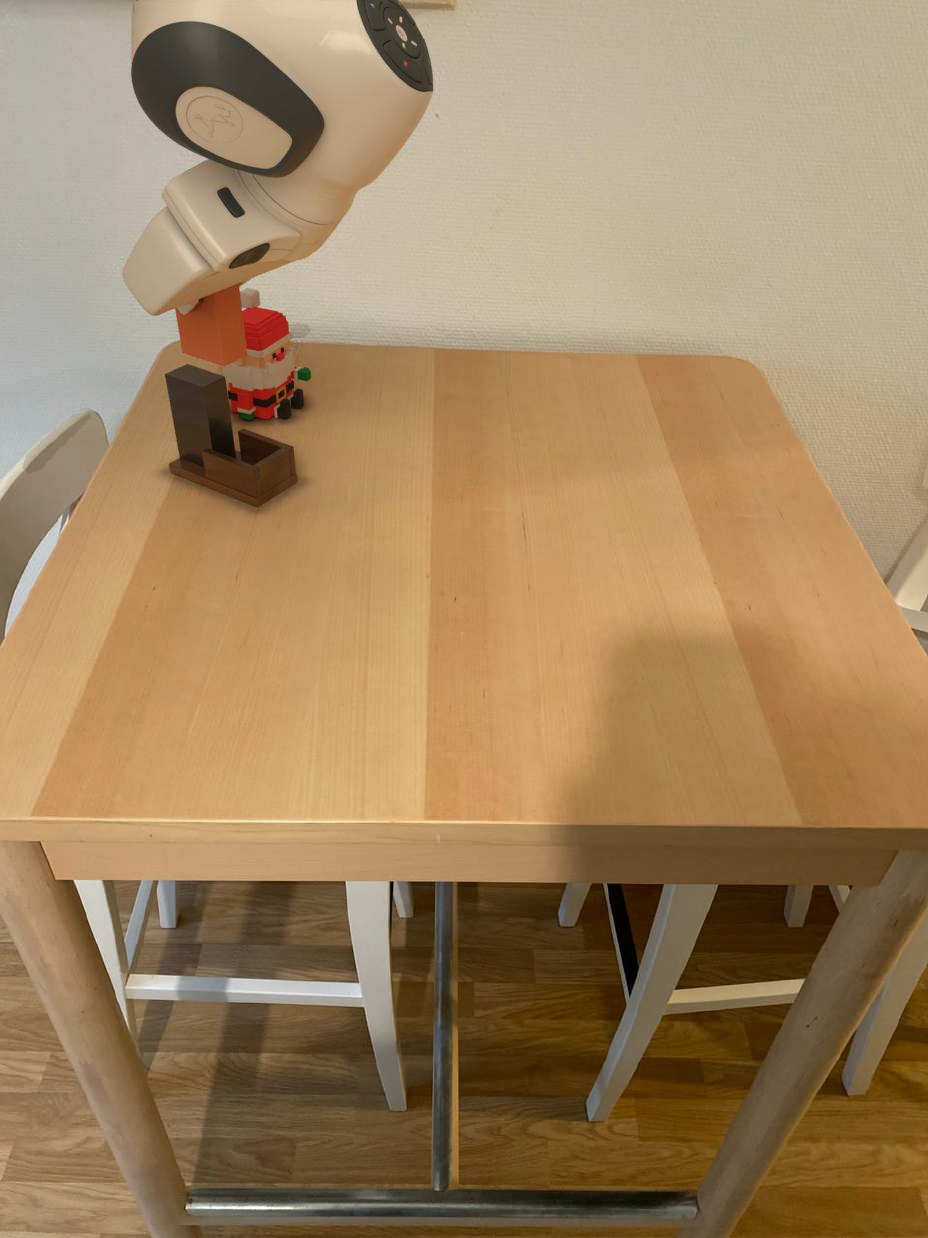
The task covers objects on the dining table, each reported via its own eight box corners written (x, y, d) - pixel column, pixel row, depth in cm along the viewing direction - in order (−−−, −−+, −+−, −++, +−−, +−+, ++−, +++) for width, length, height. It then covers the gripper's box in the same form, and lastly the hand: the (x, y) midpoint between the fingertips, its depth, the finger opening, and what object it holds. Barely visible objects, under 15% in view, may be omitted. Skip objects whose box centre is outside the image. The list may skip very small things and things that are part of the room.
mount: (257, 507, 87) (245, 412, 81) (169, 472, 92) (152, 379, 85) (297, 481, 91) (289, 388, 85) (212, 448, 96) (198, 358, 89)
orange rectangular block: (224, 366, 78) (209, 260, 72) (182, 353, 80) (164, 247, 74) (248, 355, 80) (235, 250, 74) (206, 342, 82) (190, 239, 76)
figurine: (275, 428, 100) (265, 321, 92) (221, 414, 102) (206, 308, 94) (314, 397, 106) (307, 295, 98) (262, 386, 108) (251, 284, 100)
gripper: (339, 134, 74) (261, 236, 84) (149, 184, 60) (82, 299, 70) (385, 202, 75) (302, 295, 85) (208, 267, 61) (134, 368, 71)
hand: (201, 297), depth 77 cm, fingers closed on orange rectangular block, 3 cm apart
